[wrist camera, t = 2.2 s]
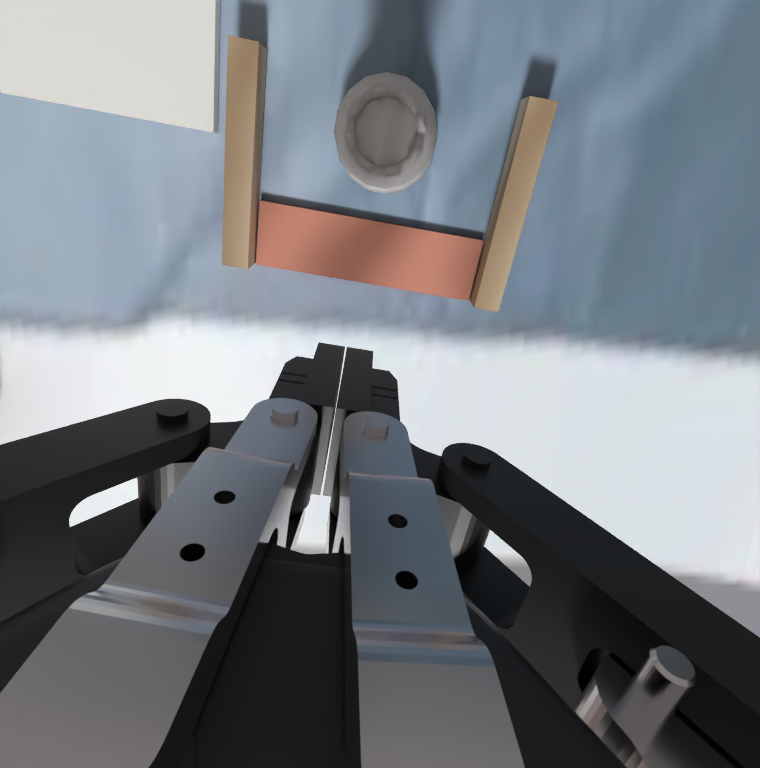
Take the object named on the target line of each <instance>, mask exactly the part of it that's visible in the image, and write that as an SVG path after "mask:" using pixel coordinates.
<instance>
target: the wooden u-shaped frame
mask: <svg viewBox="0 0 760 768" xmlns="http://www.w3.org/2000/svg"><path fill="white" fill-rule="evenodd" d="M266 67H267V48H266V47H264V46H263V45H262V44H261V43H260V42H259V41H254V40H249V39H244V38H239V37H234V36H229V35H228V57H227V96H226V135H225V174H224V213H223V252H222V265H226V266H232V267H238V268H244V269H248V268H250V267H251V266H252V265H253V264H255V263H256V264H257V265H263V266H269V267H275V268H281V269H286V270H292V271H298V272H304V273H310V274H316V275H321V276H327V277H333V278H339V279H345V280H351V281H356V282H362V283H368V284H374V285H380V286H386V287H391V288H397V289H403V290H409V291H415V292H421V293H426V294H432V295H438V296H444V297H450V298H456V299H461V300H467V301H468V300H470V301H471V303H472V305H473V307H474V308H478V309H484V310H490V311H496V312H498V310H499V307H500V304H501V300H502V297H503V293H504V290H505V286H506V283H507V279H508V276H509V272H510V269H511V265H512V262H513V258H514V255H515V251H516V248H517V244H518V241H519V237H520V234H521V230H522V227H523V223H524V220H525V216H526V213H527V210H528V206H529V203H530V199H531V196H532V192H533V189H534V185H535V182H536V178H537V175H538V171H539V168H540V164H541V161H542V157H543V154H544V150H545V147H546V143H547V140H548V136H549V133H550V129H551V126H552V122H553V119H554V116H555V112H556V109H557V105H558V101H553V100H548V99H544V98H539V97H534V96H528V97H526V98H524V99H521V101H520V104H519V108H518V112H517V116H516V120H515V124H514V128H513V132H512V136H511V139H510V143H509V147H508V151H507V155H506V159H505V163H504V167H503V171H502V174H501V178H500V182H499V186H498V190H497V194H496V198H495V202H494V206H493V209H492V213H491V217H490V221H489V225H488V229H487V233H486V237H485V241H483V240H481V239H475V238H469V237H464V236H458V235H453V234H447V233H442V232H436V231H431V230H425V229H419V228H414V227H408V226H403V225H397V224H392V223H386V222H381V221H375V220H369V219H364V218H358V217H353V216H347V215H342V214H336V213H331V212H325V211H319V210H314V209H308V208H303V207H297V206H292V205H286V204H280V203H275V202H269V201H264V200H260V204H259V192H260V174H261V157H262V139H263V121H264V103H265V85H266ZM258 210H259V222H258ZM257 228H258V239H257ZM483 242H484V244H483ZM256 246H257V257H256ZM482 246H483V248H482ZM481 250H482V252H481ZM480 253H481V256H480ZM479 257H480V260H479ZM478 261H479V264H478ZM477 265H478V268H477ZM476 269H477V272H476ZM475 273H476V276H475ZM474 277H475V279H474ZM473 281H474V283H473ZM472 285H473V287H472ZM471 289H472V291H471ZM470 292H471V295H470ZM469 296H470V299H469Z"/></svg>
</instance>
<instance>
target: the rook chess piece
mask: <svg viewBox="0 0 760 768" xmlns="http://www.w3.org/2000/svg"><path fill="white" fill-rule="evenodd" d="M334 135H335V140H336V145H337V150H338V155H339V160H340V161H341V163H342V165H343V166H344V168H345V169H346V171H347V173H348V174H349V176H350V177H351V178H352V179H353V180H354V181H356V182H357V183H358V184H360V185H361V186H363V187H364V188H365V189H367V190H371V191H375V192H380V193H384V194H387V193H392V192H397V191H402V190H405V189H406V188H408V187H409V186H410V185H412V184H413V183H415V182H416V181H418V180H419V179H420V178H421V177H422V175H423V174H424V172H425V171H426V169H427V168H428V166H429V165H430V163H431V162H432V159H433V154H434V150H435V146H436V141H437V125H436V117H435V110H434V108H433V107H432V105H431V103H430V101H429V99H428V97H427V95H426V93H425V91H424V90H423V89H421V88H420V87H419V86H418V85H416V84H415V83H414V82H413V81H412V80H410V79H409V78H408V77H406V76H402V75H397V74H393V73H389V72H383V73H379V74H375V75H370V76H366V77H364V78H363V79H362V80H361V81H359V82H358V83H357V84H356V85H354V86H353V87H352V88H350V89H349V90H348V92H347V93H346V95H345V97H344V99H343V101H342V102H341V104H340V106H339V108H338V110H337V116H336V123H335V129H334Z"/></svg>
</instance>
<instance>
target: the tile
mask: <svg viewBox="0 0 760 768" xmlns="http://www.w3.org/2000/svg"><path fill="white" fill-rule="evenodd" d="M219 45H220V0H0V90H1V93H6V94H11V95H16V96H22V97H27V98H32V99H38V100H43V101H48V102H54V103H59V104H64V105H70V106H75V107H80V108H86V109H91V110H96V111H102V112H107V113H112V114H118V115H123V116H128V117H134V118H139V119H145V120H150V121H155V122H161V123H166V124H171V125H177V126H182V127H187V128H193V129H198V130H203V131H209V132H214V133H218V97H219Z"/></svg>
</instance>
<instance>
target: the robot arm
mask: <svg viewBox="0 0 760 768" xmlns="http://www.w3.org/2000/svg"><path fill="white" fill-rule="evenodd" d="M344 350H345V347H343V346H337V345H331V344H325V343H318V346H317V349H316V352H315V355H314V358H313V359H310V358H304V357H298V356H297V357H295V358H293V359H291V360H290V361H288V362H286V363H285V365H284V367H283V369H282V372H281V374H280V376H279V378H278V381H277V383H276V385H275V387H274V389H273V391H272V393H271V396H270V398H269V399H267V400H264V401H261V402H259V403H257V404H256V405H255V406H254V407H253V408H252V409H251V411H250V412H249V414H248V415H247V417H246V418H245V419H244V420H243V421H237V422H221V423H210V416H211V415H210V412H209V410H208V409H207V408H206V407H205V406H203V405H202V404H199V403H197V402H194V401H190V400H185V399H164V400H158V401H154V402H150V403H147V404H143V405H140V406H136V407H133V408H129V409H126V410H122V411H119V412H115V413H111V414H108V415H104V416H101V417H97V418H94V419H90V420H87V421H83V422H80V423H76V424H73V425H69V426H65V427H62V428H58V429H55V430H51V431H48V432H44V433H41V434H37V435H34V436H30V437H27V438H23V439H20V440H16V441H12V442H9V443H5V444H2V445H0V768H760V638H759V637H758V636H757V635H755V634H754V633H752V632H751V631H749V630H748V629H747V628H745V627H744V626H742V625H741V624H739V623H738V622H737V621H735V620H734V619H732V618H731V617H729V616H728V615H727V614H725V613H724V612H722V611H721V610H719V609H718V608H717V607H715V606H713V605H712V604H711V603H709V602H708V601H706V600H705V599H704V598H702V597H701V596H699V595H698V594H696V593H695V592H694V591H692V590H691V589H689V588H688V587H686V586H685V585H684V584H682V583H681V582H679V581H678V580H676V579H675V578H674V577H672V576H671V575H669V574H668V573H666V572H665V571H664V570H662V569H661V568H659V567H658V566H656V565H655V564H654V563H652V562H651V561H649V560H648V559H646V558H645V557H644V556H642V555H641V554H639V553H638V552H636V551H635V550H634V549H632V548H631V547H629V546H628V545H626V544H625V543H624V542H622V541H621V540H619V539H618V538H616V537H615V536H614V535H612V534H611V533H609V532H608V531H606V530H605V529H604V528H602V527H601V526H599V525H598V524H596V523H595V522H593V521H592V520H591V519H589V518H588V517H586V516H585V515H583V514H582V513H581V512H579V511H578V510H576V509H575V508H573V507H572V506H571V505H569V504H568V503H566V502H565V501H563V500H562V499H561V498H559V497H558V496H556V495H555V494H553V493H552V492H551V491H549V490H548V489H546V488H545V487H543V486H542V485H541V484H539V483H538V482H536V481H535V480H533V479H532V478H531V477H529V476H528V475H526V474H525V473H523V472H522V471H521V470H519V469H518V468H516V467H515V466H513V465H512V464H510V463H509V462H508V461H506V460H505V459H503V458H502V457H500V456H499V455H498V454H496V453H494V452H493V451H491V450H489V449H487V448H484V447H482V446H478V445H475V444H469V443H456V444H452V445H449V446H448V447H446V448H445V449H444V451H443V453H442V457H441V456H438V455H435V454H432V453H430V452H427V451H424V450H422V449H420V448H418V447H416V446H415V445H413V444H412V443H410V441H409V436H408V432H407V429H406V427H405V426H404V425H403V424H402V423H401V422H400V414H399V400H398V385H397V380H396V379H395V377H394V376H393V375H392V374H391V373H390V372H389V371H385V370H379V369H373V368H372V362H373V351H368V350H362V349H356V348H350V347H347V351H346V357H345V362H344V368H343V374H342V379H341V385H340V391H339V396H338V389H339V383H340V376H341V370H342V363H343V356H344ZM337 396H338V402H337ZM336 402H337V408H336ZM335 408H336V414H335ZM334 414H335V421H334V427H333V433H332V440H331V446H330V453H329V459H328V466H327V472H326V479H325V485H324V492H323V495H325V496H331V503H330V510H329V516H328V522H327V541H326V553H325V554H303V553H299V552H296V551H294V548H295V545H296V542H297V539H298V536H299V533H300V530H301V527H302V524H303V521H304V515H305V508H306V507H307V505H308V503H309V500H310V495H311V494H316V495H320V492H321V487H322V481H323V476H324V470H325V465H326V459H327V454H328V448H329V442H330V437H331V431H332V426H333V420H334ZM136 477H137V479H138V497H139V498H137V499H135V500H133V501H130V502H128V503H126V504H123V505H121V506H119V507H116V508H114V509H112V510H109V511H107V512H105V513H102V514H100V515H98V516H95V517H93V518H91V519H88V520H86V521H84V522H81V523H79V524H77V525H74V526H72V527H70V526H69V517H70V514H71V512H72V511H73V509H74V508H75V507H76V505H77V504H78V503H80V502H81V501H82V500H83V499H85V498H87V497H89V496H91V495H93V494H96V493H98V492H101V491H103V490H106V489H108V488H111V487H114V486H116V485H119V484H121V483H124V482H126V481H129V480H131V479H134V478H136ZM489 530H491V531H493V532H494V533H495V534H496V535H497V536H499V537H500V538H501V539H502V540H503V541H504V542H506V543H507V544H508V545H509V546H510V547H512V548H513V549H514V550H515V551H516V552H517V553H519V554H520V555H521V556H522V557H523V558H524V559H525V561H526V562H527V564H528V566H529V568H530V570H531V574H532V583H531V586H530V587H529V586H528V585H527V584H526V583H525V582H523V581H522V580H521V579H520V578H519V577H518V576H517V575H516V574H514V573H513V572H512V571H511V570H510V569H509V568H508V567H507V566H505V565H504V564H503V563H502V562H501V561H500V560H499V559H498V558H496V557H495V556H494V555H493V554H492V553H491V552H490V551H489V550H487V549H486V548H485V547H484V544H485V542H486V539H487V536H488V533H489Z"/></svg>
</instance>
